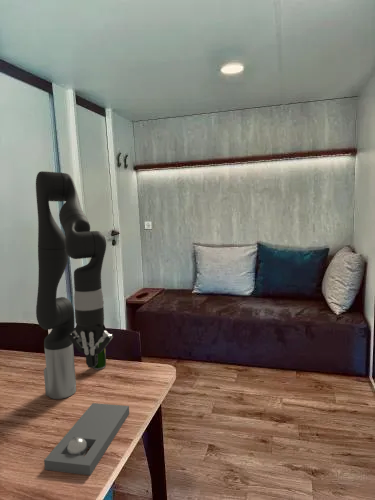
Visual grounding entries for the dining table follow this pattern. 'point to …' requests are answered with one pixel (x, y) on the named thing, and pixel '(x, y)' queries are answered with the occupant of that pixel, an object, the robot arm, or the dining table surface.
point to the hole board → (88, 439)
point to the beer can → (101, 358)
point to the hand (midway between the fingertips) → (92, 366)
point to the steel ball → (77, 447)
